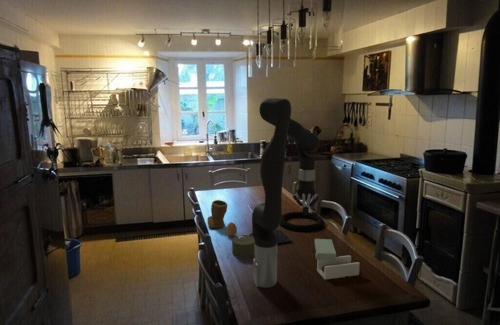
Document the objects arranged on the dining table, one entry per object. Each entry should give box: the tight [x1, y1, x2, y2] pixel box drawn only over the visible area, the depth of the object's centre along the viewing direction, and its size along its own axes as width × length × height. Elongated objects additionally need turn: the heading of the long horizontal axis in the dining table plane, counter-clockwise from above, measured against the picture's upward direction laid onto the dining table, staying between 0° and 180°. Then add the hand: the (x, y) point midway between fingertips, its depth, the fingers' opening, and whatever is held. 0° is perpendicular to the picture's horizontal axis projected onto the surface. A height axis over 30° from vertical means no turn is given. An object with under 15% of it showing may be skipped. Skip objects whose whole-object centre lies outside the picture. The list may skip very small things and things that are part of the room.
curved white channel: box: [316, 255, 361, 280], centre depth 154 cm, size 16×8×6 cm, turn 104°
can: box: [231, 234, 255, 259], centre depth 174 cm, size 12×12×7 cm
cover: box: [314, 238, 337, 260], centre depth 162 cm, size 17×9×2 cm, turn 174°
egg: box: [225, 221, 238, 237], centre depth 194 cm, size 6×6×8 cm
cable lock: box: [279, 211, 325, 232], centre depth 216 cm, size 28×4×30 cm
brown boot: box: [206, 199, 228, 229], centre depth 211 cm, size 15×12×15 cm
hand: (305, 214), depth 166 cm, fingers closed
